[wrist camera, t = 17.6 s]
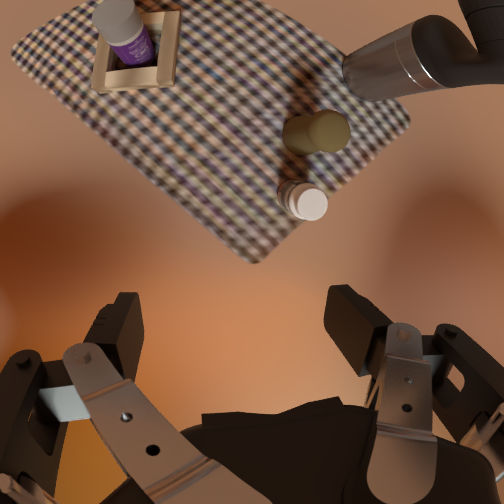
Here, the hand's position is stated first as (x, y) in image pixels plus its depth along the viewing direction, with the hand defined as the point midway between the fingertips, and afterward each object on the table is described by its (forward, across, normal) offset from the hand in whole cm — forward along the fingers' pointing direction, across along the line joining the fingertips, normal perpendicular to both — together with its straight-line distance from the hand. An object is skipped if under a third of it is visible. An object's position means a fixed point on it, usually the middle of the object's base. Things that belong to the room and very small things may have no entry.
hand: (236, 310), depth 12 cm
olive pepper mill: (+30, -13, -10) cm, 34 cm away
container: (+30, +11, -22) cm, 39 cm away
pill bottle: (+30, -12, -1) cm, 33 cm away
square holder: (+30, +11, -22) cm, 39 cm away
